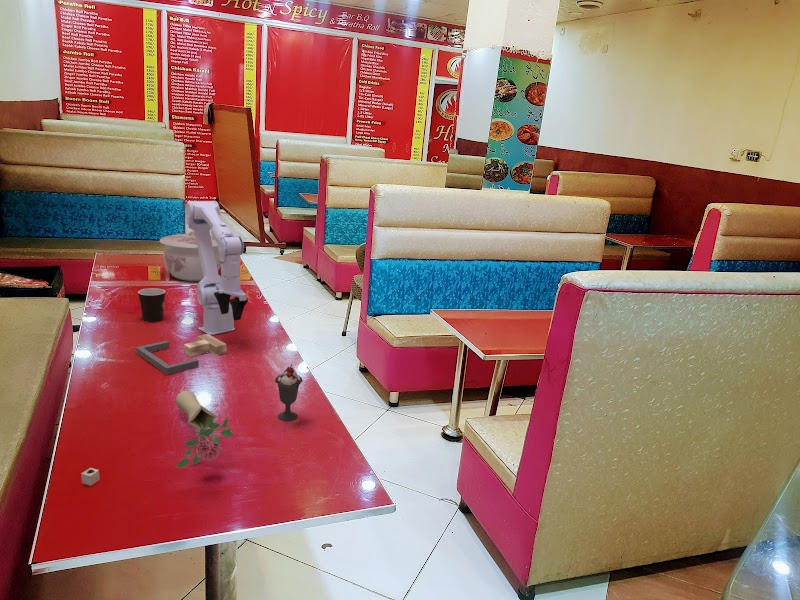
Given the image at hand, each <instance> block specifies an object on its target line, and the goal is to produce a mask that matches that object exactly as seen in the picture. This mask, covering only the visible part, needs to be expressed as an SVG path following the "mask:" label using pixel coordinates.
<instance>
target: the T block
mask: <svg viewBox="0 0 800 600" xmlns="http://www.w3.org/2000/svg"><path fill="white" fill-rule="evenodd" d="M196 338H197V340H196V341H192V342H188V343H185V344H183V354H184V353H185V354H184V355H186V356H187V355H188V357H189V358H191V357H197V356H200V355H204V354H208V353H210V352H211V354H212V353H213V354H212V355H214V356H215V355H218V356H221V355H220V354H222V355H225V353H226V354H227V343H225V342H224V341H222V340H220V339H217V338H215V336H213V335H209V334H207V333H205V334H200V335H197V337H196ZM207 352H208V353H207ZM203 353H204V354H203Z"/></svg>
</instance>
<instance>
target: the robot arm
mask: <svg viewBox="0 0 800 600" xmlns="http://www.w3.org/2000/svg"><path fill="white" fill-rule="evenodd" d="M220 210H221V208H220V205H219V203H218V202H217V201H216V200H196V201H195V200H193V201H191V200H187V202H186V204H185V211H184V212H185V217H186V223H187V227H188V229H190V230H192V231H193V232H194V234H195V237H196V242H197V247H198V252H199V257H200V262H201V267H202V271H203V276H204V278H203V279H202V280H201V281H198V283H197V285H196V290H197V292H196V296H197V301H198V303H199V305H201V306H202V307H203V309H202V310H203V313H202V315H203V319H202V320H203V325H202V326H199V327H198V330H200V331H201V332H204V333H205V334H209V335H211V336H214V335H218V334H223V333H227V332H228V333H229V332H231V331H235V330H236V328H235V325H234V323H235V321H241V320H242V315H243V312H244V309H245V308H246V305H247V304H248V302H249V299H248V298H247V297H248V295H247V293H245V292H244V291H243V289H242V288H241V255H243V254H244V250H245V247H244V241H243V238H242V237H241V235H238V234H237V235H236V234H234V232H233V230H231V228H230V226H229V225H228V224H227V223H226V222H223V221H222V219H221V217H220V214H221V211H220ZM210 235H212V236H213V237H214V239H215V240H216V242H217V243H218V252H219V258H220V261H221V267H220V274H219V270H217V265H216V260H215V255H214V250H213V245H212V241H211V236H210ZM232 297H234V298H232Z"/></svg>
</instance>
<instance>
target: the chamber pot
mask: <svg viewBox="0 0 800 600" xmlns="http://www.w3.org/2000/svg"><path fill="white" fill-rule="evenodd" d="M210 236H211V241H212V245H213V250H214V255H215V260H216V265H217V270H218V271H219V270H221V261H220V258H219V252H218V243H217V242H216V240H215V239H214V237H213V235H212V234H210ZM159 243H160V244H162V245H164V246H165V247H164V249H163V252H162V255H163V261H164V264H165V266H166V268H167V270H168V271H169V273H170V274H171V276H172V277H173V278H174V279H177V280H179V281H185V282H200V281H201V280H202V279H203V278H204V276H203V271H202V267H201V262H200V257H199V252H198V247H197V242H196V237H195V234H194V230H192V231H190V232H188V233H177V234H173V235H172V234H171V235H167V236H163V237H161V238H160V239H159Z"/></svg>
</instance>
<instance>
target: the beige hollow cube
mask: <svg viewBox="0 0 800 600" xmlns="http://www.w3.org/2000/svg"><path fill="white" fill-rule="evenodd" d="M80 475H81V483H82V484H83V485H88V486H90V487H91V486H93V485H94V484H96V483H97V482H98V481H100V480H101V479H100V471H99V469H96V468H93V467H89V468H87V469H86V470H85V471H83V472H81V474H80Z"/></svg>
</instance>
